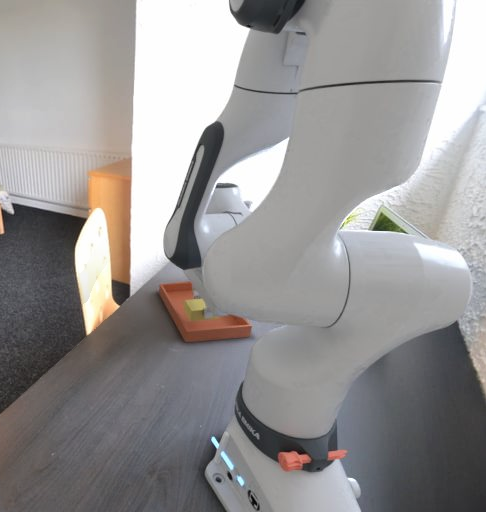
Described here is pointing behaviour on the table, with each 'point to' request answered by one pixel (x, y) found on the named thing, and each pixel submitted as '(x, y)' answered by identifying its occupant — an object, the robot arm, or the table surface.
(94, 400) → the table surface
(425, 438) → the table surface
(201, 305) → the sponge
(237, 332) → the orange tray
